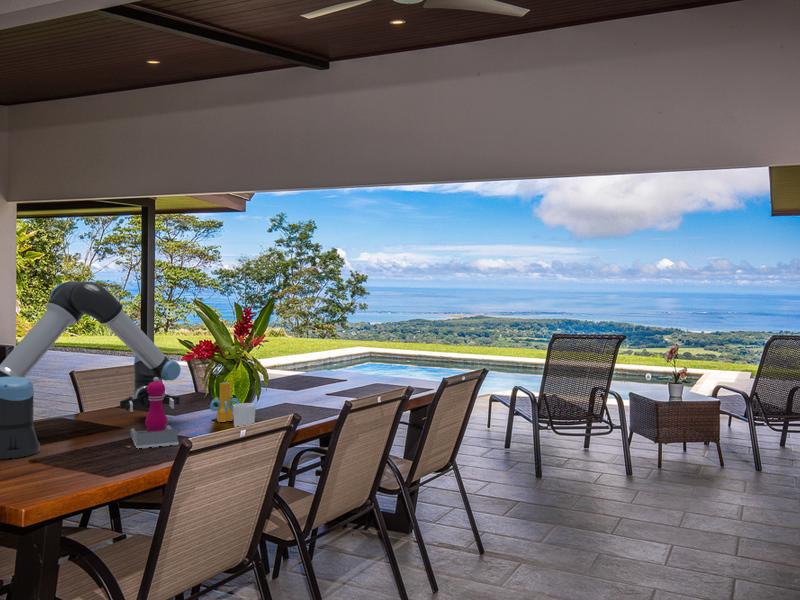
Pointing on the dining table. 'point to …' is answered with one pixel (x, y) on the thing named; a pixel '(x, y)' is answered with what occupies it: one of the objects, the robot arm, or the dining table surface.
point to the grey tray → (155, 438)
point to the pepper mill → (156, 406)
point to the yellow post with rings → (224, 404)
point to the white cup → (244, 414)
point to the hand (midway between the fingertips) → (152, 406)
